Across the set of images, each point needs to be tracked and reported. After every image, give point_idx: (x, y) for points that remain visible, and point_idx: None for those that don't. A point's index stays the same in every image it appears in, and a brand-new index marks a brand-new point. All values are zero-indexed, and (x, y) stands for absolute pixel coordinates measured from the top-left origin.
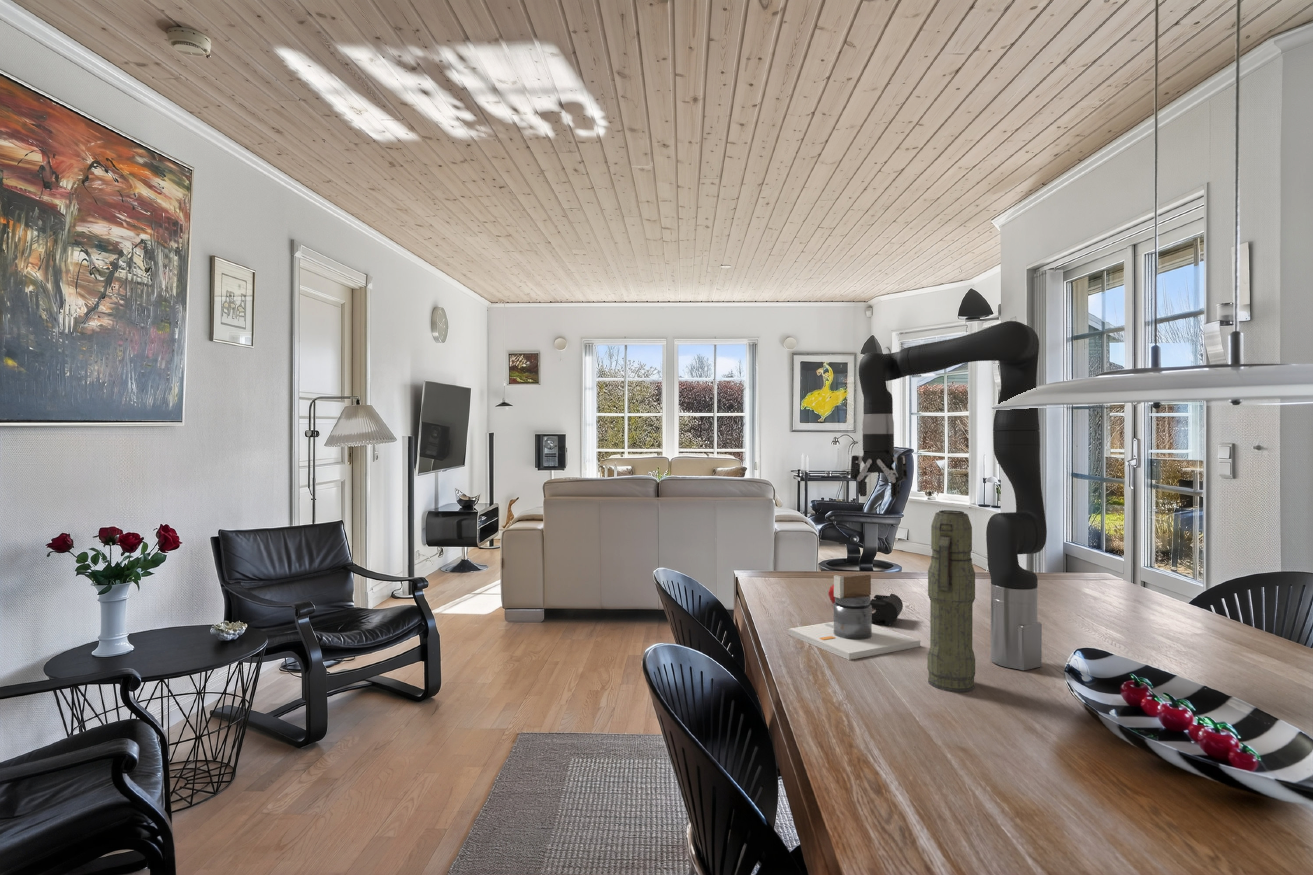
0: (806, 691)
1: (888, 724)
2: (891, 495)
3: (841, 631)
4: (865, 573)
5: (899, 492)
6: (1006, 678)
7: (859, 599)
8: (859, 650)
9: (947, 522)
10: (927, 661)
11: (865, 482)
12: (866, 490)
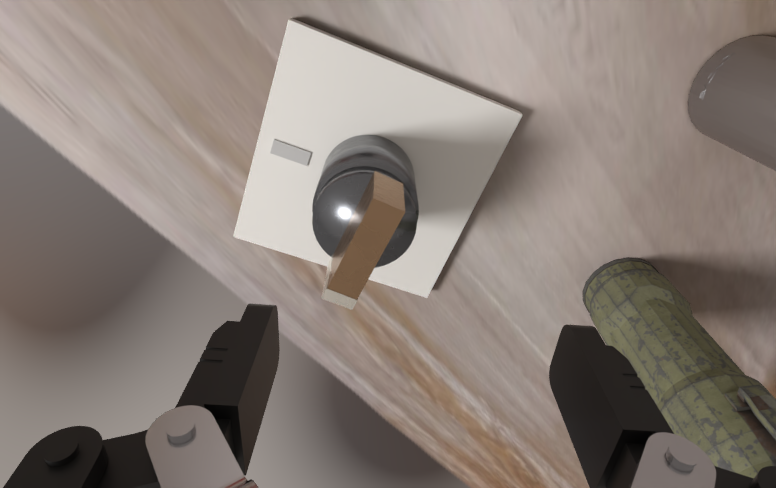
0: (439, 425)
1: (568, 445)
2: (558, 393)
3: None
4: (381, 205)
5: (631, 369)
6: (715, 201)
7: (402, 252)
8: (435, 271)
9: None
10: (595, 324)
11: (244, 418)
12: (263, 334)
